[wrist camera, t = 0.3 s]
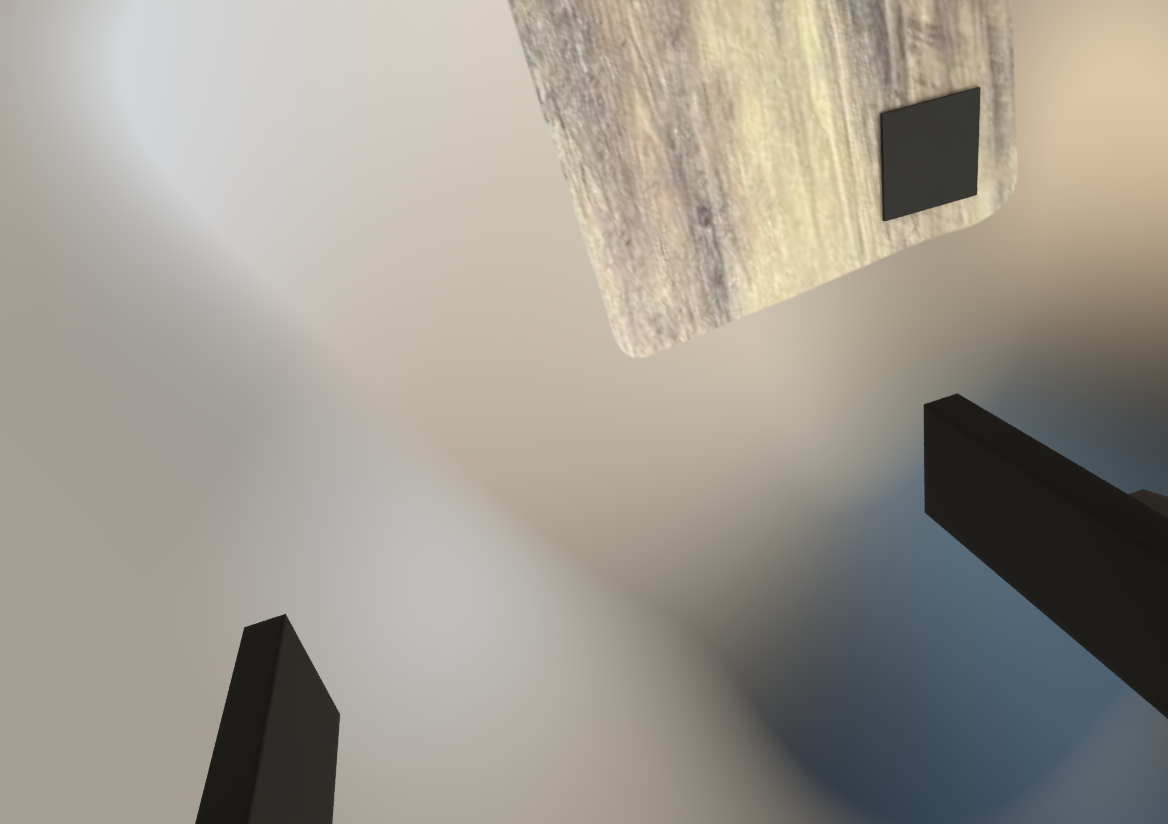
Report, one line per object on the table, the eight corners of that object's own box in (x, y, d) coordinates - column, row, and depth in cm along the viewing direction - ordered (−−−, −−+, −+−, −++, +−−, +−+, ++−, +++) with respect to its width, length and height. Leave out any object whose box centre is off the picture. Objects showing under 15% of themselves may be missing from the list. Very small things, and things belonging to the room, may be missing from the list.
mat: (880, 113, 69) (882, 113, 69) (978, 87, 70) (980, 87, 70) (883, 220, 73) (884, 221, 73) (974, 194, 75) (977, 194, 74)
